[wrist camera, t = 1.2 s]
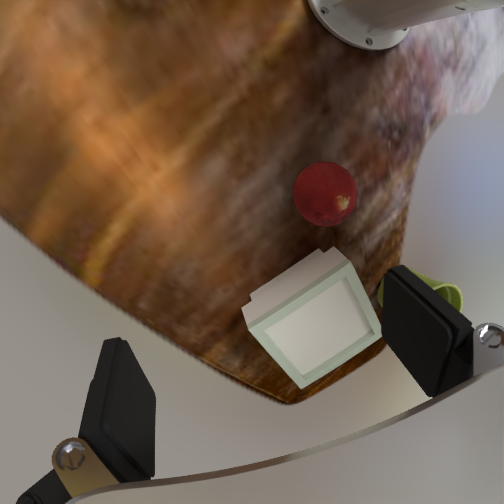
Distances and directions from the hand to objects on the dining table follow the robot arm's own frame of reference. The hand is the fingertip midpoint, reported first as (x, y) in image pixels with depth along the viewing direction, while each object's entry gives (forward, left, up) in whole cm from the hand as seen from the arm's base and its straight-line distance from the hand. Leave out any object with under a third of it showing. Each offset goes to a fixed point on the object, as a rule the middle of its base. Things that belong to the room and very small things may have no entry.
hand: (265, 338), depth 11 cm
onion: (-9, +5, -22) cm, 24 cm away
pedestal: (-2, +16, -22) cm, 27 cm away
